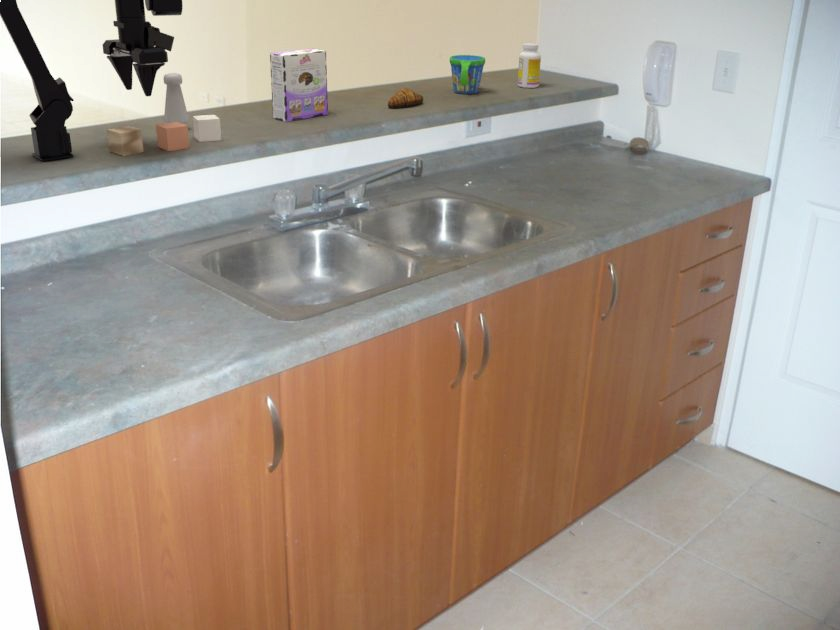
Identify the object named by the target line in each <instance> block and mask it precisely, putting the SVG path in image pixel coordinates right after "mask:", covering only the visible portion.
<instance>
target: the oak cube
mask: <svg viewBox="0 0 840 630" xmlns="http://www.w3.org/2000/svg"><path fill="white" fill-rule="evenodd" d="M106 132H107V138H108V141H107V142H108V146H109V153H111V152H113V153H112V154H114V153H116V154H115V155H118V154H119V155H118V156H121V155H122V156H121V157H126V155H127V156H132V155H137V154H140V153H141V152H142V153H144V152H145V151H144V143H143V134H142V129H141V128H137V127H134V126H129V125H125V126H119V127H113V128H108V129H106ZM131 154H132V155H131Z"/></svg>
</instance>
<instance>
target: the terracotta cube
mask: <svg viewBox="0 0 840 630" xmlns="http://www.w3.org/2000/svg"><path fill="white" fill-rule="evenodd" d="M155 129H156V137H157V138H156V139H157V147H158V148H160V149H161V150H162V149H163V150H165V151H167V152H172V151H178V150H185V149H190V138H189V127H188V125H184V124H181V123H179V122H172V123H165V122H164V123H159V124H155Z"/></svg>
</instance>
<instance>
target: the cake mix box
mask: <svg viewBox="0 0 840 630" xmlns="http://www.w3.org/2000/svg"><path fill="white" fill-rule="evenodd" d="M269 59H270V60H269V61H270V63H269V64H270V81H271V82H270V83H271V84H270V85H271V103H272V104H271V105H272V106H271V108H272V119H275V120H278V121H281V122H284V123H288V122H293V121H300V120H305V119H310V118H315V117H316V118H317V117H322V116H327V115H329V105H328V104H329V103H328V101H329V100H328V76H327V74H328V72H327V70H328V69H327V51H326V49H325V50H324V49H320V48H319V49H317V48H313V47H312V48H305V49H296V50H287V51H285V50H284V51H279V52H278V51H277V52H270V53H269Z"/></svg>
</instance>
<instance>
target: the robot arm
mask: <svg viewBox="0 0 840 630" xmlns="http://www.w3.org/2000/svg"><path fill="white" fill-rule="evenodd" d="M114 7H115V14H116V16H115V17H116V20H113V21H112V23H113V27H116V28H117V32H118V33H117V34H118V39H105V40H104V42H103V43H102V53H103V54H104V55H107V56H106V58H107V59H108V60H109V62H110V63H111V66H112V67H113V69H114V70H115V72H116V73H117V76H118V77H119V79H120V81H121V83H122V84H123V86H124V88H125V89H126V90H127V91H132V89H133V70H134V71H135V73H136V76H137V79H138V81H139V83H140V86H141V89H142V91H143V93H144V96H145V97H151V96H152V93H153V87H154V84H155V79H156V75H157V72H158V71H159V69H160V68H161V67H163V66H165V65H166V63H168V62H169V59H168V55H169V54H168V52H172V48H173V44H174V41H175V37H174V36H173V35H171V34H167V33H164V32H161V29H160V28H159V27H155V26H153V25H152V23H150V21H147V20H146V19H147V18H146V11H148V12H151V15H152V16H154V17H156V16H157V17H158V16H159V17H160V16H181V15H182V13H183V0H114ZM145 8H146V11H145ZM0 18H1V19H2V22H3V23H4V25H5V28H6V30H7V31H8V34H9V36H10V38H11V40H12V42H13V44H14V46H15V48H16V50H17V52H18V54H19V56H20V58H21V60H22V61H23V63H24V66H25V67H26V70H27V71H28V75H29V76H30V77H31V81H32V85H33V89H34V94H35V96H36V100H37V103H38V104H37V106H36V107H34V109H33V110H32V111H31V112H30V114H29V118H30V119H31V121H32V123H33V124H34V125H35V126H34V127H33V126H32V127H30V131H31V138H32V145H33V150H34V152H32V153H31V156H33V158H36V159H38V160H40V161H41V162H47V161H55V160H61V159H68V158H74V154H73V153H72V152H73V148H72V140H71V133H69V132H68V129H67V126H66V125H65V124H66V121H67V120H68V119H69V118H70V117H71V116H72V113H73V111H74V107H73V104H72V102H74V98H73V97H72V96H71V95H70V94H69V91H68V88H67V84H66V82H65V81H64V79H62V78H61V77H60V76H59V77H58V78H56V79H55V77H54V76H53V75H52V73H50V70H49V68H48V66H47V64H46V61H45V59H44V57H43V56H42V53H41V51H40V50H39V47H38V45H37V43H36V41H35V39H34V36H33V35H32V33H31V31H30V29H29V27H28V25H27V23H26V20H25V19H24V16H23V15H22V12H21V11H20V8H19V6H18V2H17V0H1V2H0ZM167 51H168V52H167ZM133 68H134V69H133Z"/></svg>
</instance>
